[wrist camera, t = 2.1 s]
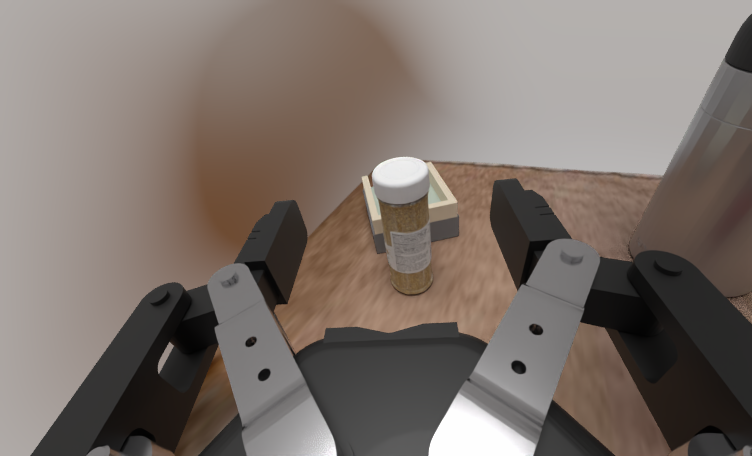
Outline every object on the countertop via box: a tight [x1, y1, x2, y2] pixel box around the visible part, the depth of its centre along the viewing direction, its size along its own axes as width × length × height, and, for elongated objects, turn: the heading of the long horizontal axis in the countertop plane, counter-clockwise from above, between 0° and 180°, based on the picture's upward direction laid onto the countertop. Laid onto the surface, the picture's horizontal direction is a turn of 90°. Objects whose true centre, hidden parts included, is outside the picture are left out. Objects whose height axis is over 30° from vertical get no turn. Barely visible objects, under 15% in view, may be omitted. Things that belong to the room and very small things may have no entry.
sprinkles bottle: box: [372, 157, 433, 294], centre depth 28 cm, size 5×5×14 cm
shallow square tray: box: [362, 162, 459, 254], centre depth 39 cm, size 10×10×5 cm
